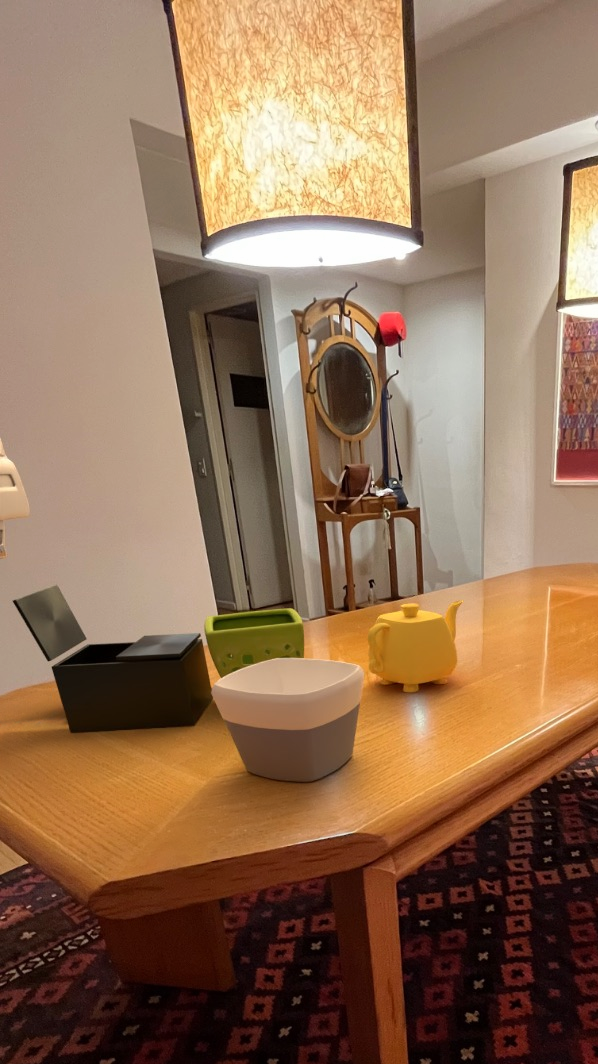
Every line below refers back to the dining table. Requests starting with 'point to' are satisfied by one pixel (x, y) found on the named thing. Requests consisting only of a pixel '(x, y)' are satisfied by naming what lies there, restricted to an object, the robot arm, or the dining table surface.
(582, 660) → the dining table surface
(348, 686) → the bowl
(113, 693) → the black lidded box
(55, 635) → the flap
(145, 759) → the dining table surface
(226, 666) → the flower pot
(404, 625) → the teapot
